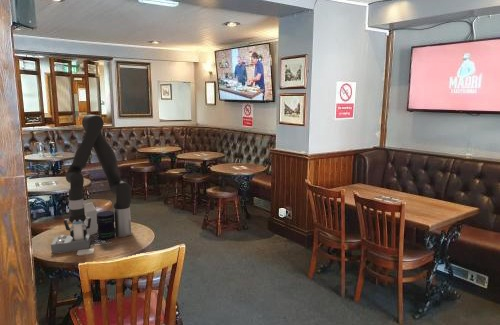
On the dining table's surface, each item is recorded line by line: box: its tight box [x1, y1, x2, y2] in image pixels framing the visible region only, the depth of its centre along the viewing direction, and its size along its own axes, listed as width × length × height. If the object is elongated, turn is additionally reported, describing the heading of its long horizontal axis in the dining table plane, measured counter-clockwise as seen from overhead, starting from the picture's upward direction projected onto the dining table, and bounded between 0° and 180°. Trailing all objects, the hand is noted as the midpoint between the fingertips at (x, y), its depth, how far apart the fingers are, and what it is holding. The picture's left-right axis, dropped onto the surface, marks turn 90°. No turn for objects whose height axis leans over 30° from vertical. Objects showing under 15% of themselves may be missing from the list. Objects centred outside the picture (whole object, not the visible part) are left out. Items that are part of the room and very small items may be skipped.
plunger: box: [58, 234, 66, 239], centre depth 202 cm, size 3×3×6 cm
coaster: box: [76, 248, 95, 256], centre depth 194 cm, size 8×6×1 cm
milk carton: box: [84, 201, 98, 236], centre depth 221 cm, size 7×7×19 cm
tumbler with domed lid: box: [73, 221, 84, 240], centre depth 201 cm, size 6×6×16 cm
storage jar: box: [96, 210, 116, 242], centre depth 214 cm, size 10×10×15 cm
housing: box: [50, 233, 92, 254], centre depth 200 cm, size 18×12×5 cm, turn 109°
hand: (79, 236), depth 201 cm, fingers open, 5 cm apart
